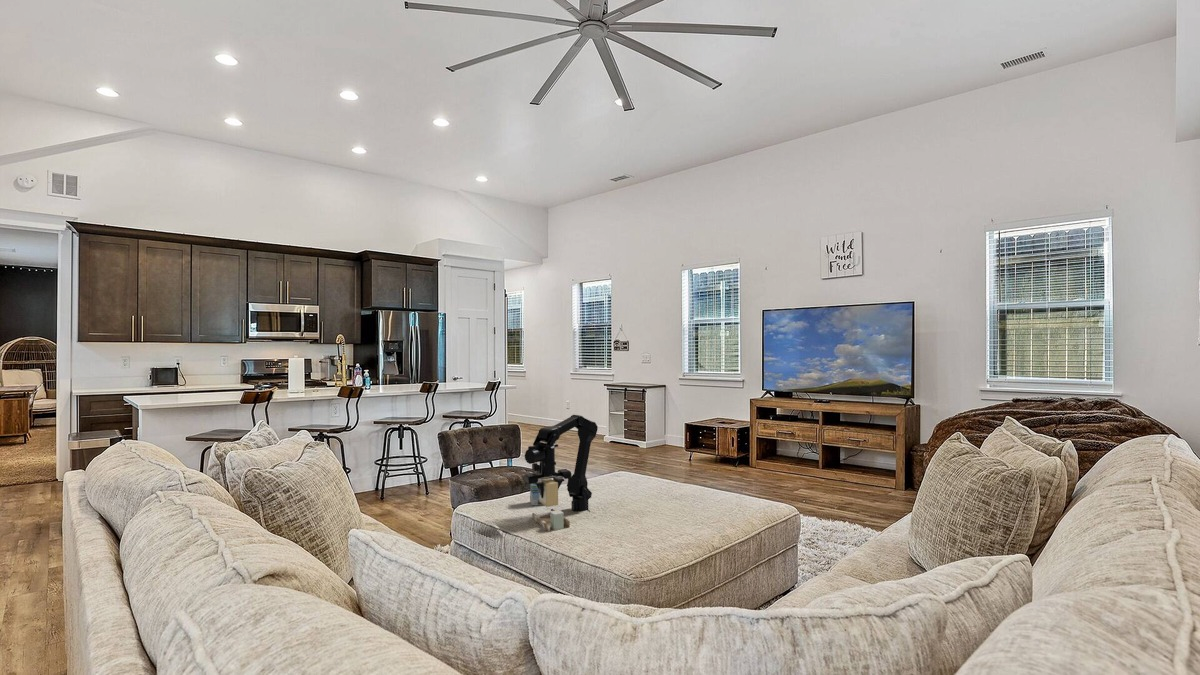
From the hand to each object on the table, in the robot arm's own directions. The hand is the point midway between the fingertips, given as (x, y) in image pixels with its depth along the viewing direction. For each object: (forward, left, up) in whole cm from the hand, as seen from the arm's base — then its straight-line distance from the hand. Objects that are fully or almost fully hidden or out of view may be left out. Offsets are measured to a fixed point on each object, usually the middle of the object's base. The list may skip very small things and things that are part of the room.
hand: (548, 497), depth 243 cm
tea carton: (0, 0, -3) cm, 3 cm away
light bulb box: (-8, -28, -11) cm, 31 cm away
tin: (0, +9, -10) cm, 13 cm away
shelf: (0, +2, -11) cm, 11 cm away
